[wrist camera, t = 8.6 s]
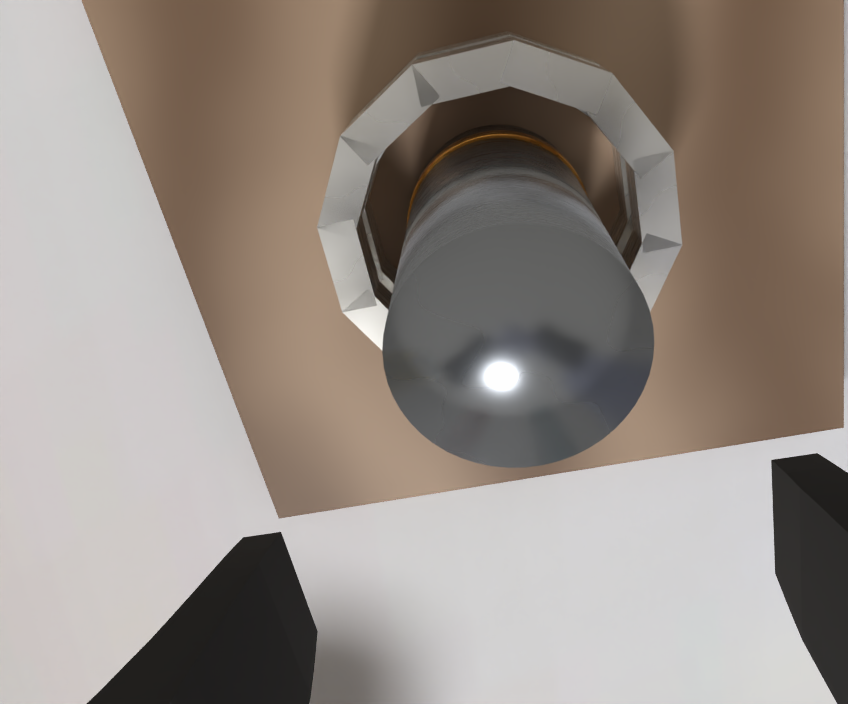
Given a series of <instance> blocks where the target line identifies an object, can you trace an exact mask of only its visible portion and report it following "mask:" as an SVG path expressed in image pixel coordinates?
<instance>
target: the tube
mask: <svg viewBox="0 0 848 704" xmlns="http://www.w3.org/2000/svg"><path fill="white" fill-rule="evenodd" d="M382 354H383V365H384V370H385V375H386V379H387V383H388V385H389V388H390V390H391V393H392V396H393V398H394V399H395V401H396V403H397V405H398V407H399V408H400V410H401V411H402V413H403V414H404V415H405V417H406V418H407V419H408V421H409V422H410V423H411V424H412V425H413V426H414V427H415V428H416V429H417V430H418V431H419V432H420V433H421V434H422V435H423V436H424V437H426V438H427V439H428V440H430V441H431V442H432V443H433V444H435V445H437V446H438V447H440V448H442V449H443V450H445V451H447V452H449V453H451V454H453V455H455V456H458V457H460V458H462V459H465V460H468V461H472V462H475V463H478V464H483V465H488V466H494V467H505V468H526V467H533V466H541V465H546V464H550V463H554V462H558V461H561V460H563V459H566V458H569V457H572V456H574V455H576V454H578V453H580V452H582V451H584V450H586V449H588V448H590V447H592V446H593V445H595V444H596V443H598V442H599V441H601V440H602V439H604V438H605V437H606V436H607V435H608V434H610V433H611V432H612V431H613V430H614V429H616V427H617V426H618V425H619V424H620V423H621V422H622V421H623V420H624V419H625V418H626V417H627V415H628V414H629V413H630V411H631V410H632V409H633V407H634V406H635V405H636V403H637V401H638V399H639V397H640V396H641V394H642V392H643V390H644V388H645V385H646V383H647V380H648V377H649V375H650V370H651V366H652V362H653V354H654V329H653V323H652V318H651V314H650V310H649V307H648V305H647V302H646V299H645V297H644V294H643V293H642V291H641V289H640V287H639V286H638V284H637V282H636V280H635V279H634V277H633V275H632V273H631V272H630V270H629V268H628V266H627V265H626V263H625V261H624V260H623V258H622V256H621V254H620V253H619V251H618V249H617V247H616V246H615V244H614V242H613V240H612V239H611V237H610V235H609V233H608V232H607V230H606V228H605V226H604V225H603V223H602V221H601V219H600V218H599V216H598V214H597V212H596V211H595V209H594V207H593V205H592V204H591V202H590V200H589V198H588V195H587V193H586V190H585V187H584V185H583V183H582V182H581V180H580V178H579V176H578V174H577V173H576V171H575V169H574V168H573V167H572V165H571V164H570V163H569V161H568V160H567V159H566V158H565V157H564V156H563V155H562V154H561V152H560V151H559V150H558V149H557V148H556V147H555V146H554V145H553V144H551V143H550V142H549V141H547V140H546V139H545V138H543V137H541V136H539V135H538V134H536V133H534V132H532V131H529V130H526V129H524V128H520V127H515V126H509V125H488V126H482V127H477V128H474V129H471V130H468V131H465V132H463V133H461V134H459V135H457V136H455V137H454V138H452V139H451V140H449V141H448V142H446V143H445V144H444V145H443V146H442V147H440V148H439V149H438V150H437V151H436V152H435V154H434V155H433V156H432V157H431V158H430V160H429V161H428V162H427V164H426V165H425V167H424V169H423V171H422V173H421V175H420V177H419V180H418V182H417V184H416V186H415V188H414V191H413V194H412V197H411V201H410V205H409V210H408V215H407V229H406V234H405V238H404V243H403V247H402V252H401V256H400V261H399V265H398V270H397V274H396V279H395V283H394V288H393V292H392V297H391V301H390V306H389V310H388V315H387V319H386V324H385V329H384V334H383V347H382Z"/></svg>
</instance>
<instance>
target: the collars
mask: <svg viewBox="0 0 848 704" xmlns="http://www.w3.org/2000/svg"><path fill="white" fill-rule="evenodd" d="M509 86H511V87H514V88H517V89H520V90H523V91H526V92H529V93H533V94H536V95H539V96H542V97H545V98H548V99H551V100H554V101H557V102H560V103H563V104H566V105H569V106H572V107H575V108H577V109H578V110H580V111H581V112H583V113H584V114H586V115H587V116H589V117H590V119H591V120H592V121H593V122H594V123H595V125H596V126H597V127H598V128H599V130H600V131H601V132H602V133H603V135H604V136H605V137H606V138H607V139H608V141H609V142H610V143H611V144H612V150H613V158H614V166H615V174H616V182H617V190H618V198H619V206H620V210H619V213H618V215H617V217H616V220H615V222H614V224H613V227H612V229H611V231H610V234H609V235H610V237H611V239H612V240H613V242H614V244H615V246H616V247H617V249H618V251H619V253H620V254H621V256H622V258H623V260H624V261H625V263H626V265H627V266H628V268H629V270H630V272H631V273H632V275H633V277H634V279H635V280H636V282H637V284H638V286H639V287H640V289H641V291H642V293H643V294H644V297H645V299H646V302H647V305H648V307H649V310H650V312H651V309H652V307H653V305H654V303H655V301H656V299H657V297H658V295H659V293H660V291H661V288H662V286H663V284H664V282H665V280H666V278H667V276H668V274H669V272H670V270H671V267H672V265H673V263H674V261H675V259H676V257H677V255H678V253H679V251H680V249H681V246H682V237H681V226H680V215H679V204H678V194H677V183H676V172H675V161H674V150H672V148H671V147H670V146H669V144H668V143H667V142H666V141H665V139H664V138H663V137H662V136H661V134H660V133H659V132H658V130H657V129H656V128H655V127H654V125H653V124H652V123H651V122H650V120H649V119H648V118H647V116H646V115H645V114H644V113H643V111H642V110H641V109H640V108H639V106H638V105H637V104H636V103H635V101H634V100H633V99H632V97H631V96H630V95H629V94H628V92H627V91H626V90H625V89H624V87H623V86H622V85H621V83H620V82H619V81H618V80H617V78H616V77H615V76H614V75H613V73H612V72H610V71H609V70H607V69H606V68H604V67H601V66H600V64H598V63H597V62H595V61H594V60H591V59H588V58H585V57H582V56H579V55H576V54H574V53H571V52H568V51H565V50H562V49H559V48H556V47H553V46H550V45H547V44H544V43H541V42H538V41H535V40H532V39H529V38H526V37H523V36H520V35H517V34H514V33H511V32H508V31H506V32H502V33H498V34H494V35H489V36H485V37H481V38H477V39H473V40H469V41H465V42H461V43H456V44H452V45H448V46H444V47H440V48H436V49H432V50H428V51H423V52H419V53H418V54H417V55H416V56H415V57H414V58H413V59H412V60H411V61H410V62H409V63H408V64H407V65H406V66H405V67H404V68H403V69H402V70H401V71H400V72H399V73H398V74H397V75H396V76H395V77H394V78H393V79H392V80H391V81H390V82H389V83H388V84H387V85H386V86H385V87H384V88H383V89H382V90H381V91H380V92H379V93H378V94H377V95H376V96H375V97H374V98H373V99H372V100H371V101H370V102H369V103H368V104H367V105H366V106H365V107H364V108H363V109H362V110H361V111H360V112H359V113H358V114H357V115H356V116H355V117H354V118H353V120H352V121H351V122H350V125H349V126H348V127H346V129H345V130H344V131H343V133H342V134H341V135H340V138H339V142H338V146H337V150H336V154H335V158H334V162H333V166H332V170H331V174H330V178H329V182H328V186H327V190H326V194H325V198H324V202H323V206H322V210H321V213H320V217H319V221H318V225H317V229H318V232H319V236H320V239H321V243H322V246H323V249H324V253H325V256H326V259H327V263H328V266H329V269H330V273H331V276H332V280H333V283H334V286H335V290H336V293H337V296H338V300H339V303H340V307H341V310H342V312H343V313H344V314H345V315H346V316H347V317H348V318H349V319H350V320H351V321H352V322H353V323H354V324H355V325H356V326H357V327H358V328H359V329H360V330H361V331H362V332H363V333H364V334H365V335H366V336H367V337H368V338H369V339H371V340H372V341H373V342H374V343H375V344H376V345H377V346H378V347H379V348H380V349H381V350H382V347H383V334H384V329H385V324H386V319H387V315H388V310H389V306H390V301H391V297H392V292H393V288H394V283H395V279H396V274H397V269H396V268H395V267H394V266H393V265H392V264H391V263H390V262H389V261H388V260H387V259H386V258H385V254H384V251H383V247H382V243H381V239H380V235H379V232H378V228H377V224H376V220H375V216H374V213H373V209H372V205H371V201H370V194H371V191H372V187H373V183H374V180H375V176H376V173H377V169H378V165H379V162H380V158H381V156H382V155H383V153H384V151H385V150H386V148H387V147H388V146H389V145H390V144H391V143H392V142H393V141H394V140H395V139H396V138H397V137H399V136H400V135H401V134H402V133H403V132H404V131H405V130H406V129H407V128H408V127H409V126H410V125H411V124H412V123H413V122H414V121H415V120H416V119H417V118H418V117H419V116H420V115H421V114H423V113H424V112H425V111H426V110H427V109H428V108H429V107H430V106H431V105H432V104H436V103H440V102H445V101H449V100H453V99H458V98H462V97H466V96H471V95H475V94H479V93H483V92H488V91H492V90H496V89H501V88H505V87H509Z"/></svg>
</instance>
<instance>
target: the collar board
mask: <svg viewBox="0 0 848 704" xmlns="http://www.w3.org/2000/svg"><path fill="white" fill-rule="evenodd" d="M82 3H83V5H84V8H85V11H86V13H87V16H88V18H89V21H90V24H91V26H92V29H93V32H94V34H95V37H96V39H97V42H98V45H99V47H100V50H101V53H102V55H103V58H104V60H105V63H106V66H107V68H108V71H109V74H110V76H111V79H112V81H113V84H114V87H115V89H116V92H117V95H118V97H119V100H120V102H121V105H122V108H123V110H124V113H125V116H126V118H127V121H128V123H129V126H130V129H131V131H132V134H133V137H134V139H135V142H136V144H137V147H138V150H139V152H140V155H141V158H142V160H143V163H144V165H145V168H146V171H147V173H148V176H149V179H150V181H151V184H152V186H153V189H154V192H155V194H156V197H157V200H158V202H159V205H160V207H161V210H162V213H163V215H164V218H165V221H166V223H167V226H168V228H169V231H170V234H171V236H172V239H173V242H174V244H175V247H176V249H177V252H178V255H179V257H180V260H181V263H182V265H183V268H184V270H185V273H186V276H187V278H188V281H189V284H190V286H191V289H192V291H193V294H194V297H195V299H196V302H197V305H198V307H199V310H200V312H201V315H202V318H203V320H204V323H205V326H206V328H207V331H208V333H209V336H210V339H211V341H212V344H213V347H214V349H215V352H216V354H217V357H218V360H219V362H220V365H221V368H222V370H223V373H224V375H225V378H226V381H227V383H228V386H229V389H230V391H231V394H232V396H233V399H234V402H235V404H236V407H237V410H238V412H239V415H240V417H241V420H242V423H243V425H244V428H245V431H246V433H247V436H248V438H249V441H250V444H251V446H252V449H253V452H254V454H255V457H256V459H257V462H258V465H259V467H260V470H261V473H262V475H263V478H264V480H265V483H266V486H267V488H268V491H269V494H270V496H271V499H272V501H273V504H274V507H275V509H276V512H277V515H278V517H279V518H285V517H291V516H297V515H303V514H309V513H316V512H322V511H328V510H334V509H340V508H347V507H353V506H359V505H365V504H371V503H378V502H384V501H390V500H396V499H402V498H409V497H415V496H421V495H427V494H434V493H440V492H446V491H452V490H458V489H465V488H471V487H477V486H483V485H489V484H496V483H502V482H508V481H514V480H520V479H527V478H533V477H539V476H545V475H552V474H558V473H564V472H570V471H576V470H583V469H589V468H595V467H601V466H607V465H614V464H620V463H626V462H632V461H638V460H645V459H651V458H657V457H663V456H670V455H676V454H682V453H688V452H694V451H701V450H707V449H713V448H719V447H725V446H732V445H738V444H744V443H750V442H756V441H763V440H769V439H775V438H781V437H788V436H794V435H800V434H806V433H812V432H819V431H825V430H831V429H837V428H843V427H844V0H82ZM506 31H508V32H511V33H514V34H517V35H520V36H523V37H526V38H529V39H532V40H535V41H538V42H541V43H544V44H547V45H550V46H553V47H556V48H559V49H562V50H565V51H568V52H571V53H574V54H576V55H579V56H582V57H585V58H588V59H591V60H594V61H595V62H597V63H598V64H600V66H601V67H604V68H606V69H607V70H609V71H610V72H612V73H613V75H614V76H615V77H616V78H617V80H618V81H619V82H620V83H621V85H622V86H623V87H624V89H625V90H626V91H627V92H628V94H629V95H630V96H631V97H632V99H633V100H634V101H635V103H636V104H637V105H638V106H639V108H640V109H641V110H642V111H643V113H644V114H645V115H646V116H647V118H648V119H649V120H650V122H651V123H652V124H653V125H654V127H655V128H656V129H657V130H658V132H659V133H660V134H661V136H662V137H663V138H664V139H665V141H666V142H667V143H668V144H669V146H670V147H671V148H672V150H674V161H675V172H676V183H677V194H678V204H679V215H680V226H681V237H682V246H681V249H680V251H679V253H678V255H677V257H676V259H675V261H674V263H673V265H672V267H671V270H670V272H669V274H668V276H667V278H666V280H665V282H664V284H663V286H662V288H661V291H660V293H659V295H658V297H657V299H656V301H655V303H654V305H653V307H652V309H651V312H650V314H651V318H652V323H653V329H654V354H653V362H652V366H651V370H650V375H649V377H648V380H647V383H646V385H645V388H644V390H643V392H642V394H641V396H640V397H639V399H638V401H637V403H636V405H635V406H634V407H633V409H632V410H631V411H630V413H629V414H628V415H627V417H626V418H625V419H624V420H623V421H622V422H621V423H620V424H619V425H618V426H617V427H616V429H614V430H613V431H612V432H611V433H610V434H608V435H607V436H606V437H605V438H604V439H602V440H601V441H599V442H598V443H596V444H595V445H593V446H592V447H590V448H588V449H586V450H584V451H582V452H580V453H578V454H576V455H574V456H572V457H569V458H566V459H563V460H561V461H558V462H554V463H550V464H546V465H541V466H533V467H526V468H505V467H494V466H488V465H483V464H478V463H475V462H472V461H468V460H465V459H462V458H460V457H458V456H455V455H453V454H451V453H449V452H447V451H445V450H443V449H442V448H440V447H438V446H437V445H435V444H433V443H432V442H431V441H430V440H428V439H427V438H426V437H424V436H423V435H422V434H421V433H420V432H419V431H418V430H417V429H416V428H415V427H414V426H413V425H412V424H411V423H410V422H409V421H408V419H407V418H406V417H405V415H404V414H403V413H402V411H401V410H400V408H399V407H398V405H397V403H396V401H395V399H394V398H393V396H392V393H391V390H390V388H389V385H388V383H387V379H386V375H385V370H384V365H383V354H382V350H381V349H380V348H379V347H378V346H377V345H376V344H375V343H374V342H373V341H372V340H371V339H369V338H368V337H367V336H366V335H365V334H364V333H363V332H362V331H361V330H360V329H359V328H358V327H357V326H356V325H355V324H354V323H353V322H352V321H351V320H350V319H349V318H348V317H347V316H346V315H345V314H344V313H343V312H342V310H341V307H340V303H339V300H338V296H337V293H336V290H335V286H334V283H333V280H332V276H331V273H330V269H329V266H328V263H327V259H326V256H325V253H324V249H323V246H322V243H321V239H320V236H319V232H318V229H317V225H318V221H319V217H320V213H321V210H322V206H323V202H324V198H325V194H326V190H327V186H328V182H329V178H330V174H331V170H332V166H333V162H334V158H335V154H336V150H337V146H338V142H339V138H340V135H341V134H342V133H343V131H344V130H345V129H346V127H348V126H349V125H350V122H351V121H352V120H353V118H354V117H355V116H356V115H357V114H358V113H359V112H360V111H361V110H362V109H363V108H364V107H365V106H366V105H367V104H368V103H369V102H370V101H371V100H372V99H373V98H374V97H375V96H376V95H377V94H378V93H379V92H380V91H381V90H382V89H383V88H384V87H385V86H386V85H387V84H388V83H389V82H390V81H391V80H392V79H393V78H394V77H395V76H396V75H397V74H398V73H399V72H400V71H401V70H402V69H403V68H404V67H405V66H406V65H407V64H408V63H409V62H410V61H411V60H412V59H413V58H414V57H415V56H416V55H417V54H418V53H419V52H423V51H428V50H432V49H436V48H440V47H444V46H448V45H452V44H456V43H461V42H465V41H469V40H473V39H477V38H481V37H485V36H489V35H494V34H498V33H502V32H506ZM488 125H509V126H515V127H520V128H524V129H526V130H529V131H532V132H534V133H536V134H538V135H539V136H541V137H543V138H545V139H546V140H547V141H549V142H550V143H551V144H553V145H554V146H555V147H556V148H557V149H558V150H559V151H560V152H561V154H562V155H563V156H564V157H565V158H566V159H567V160H568V161H569V163H570V164H571V165H572V167H573V168H574V169H575V171H576V173H577V174H578V176H579V178H580V180H581V182H582V183H583V185H584V187H585V190H586V193H587V195H588V198H589V200H590V202H591V204H592V205H593V207H594V209H595V211H596V212H597V214H598V216H599V218H600V219H601V221H602V223H603V225H604V226H605V228H606V230H607V232H608V233H609V234H610V231H611V229H612V227H613V224H614V222H615V220H616V217H617V215H618V213H619V210H620V206H619V198H618V190H617V182H616V174H615V166H614V158H613V150H612V144H611V143H610V142H609V141H608V139H607V138H606V137H605V136H604V135H603V133H602V132H601V131H600V130H599V128H598V127H597V126H596V125H595V123H594V122H593V121H592V120H591V119H590V117H589V116H587V115H586V114H584V113H583V112H581V111H580V110H578V109H577V108H575V107H572V106H569V105H566V104H563V103H560V102H557V101H554V100H551V99H548V98H545V97H542V96H539V95H536V94H533V93H529V92H526V91H523V90H520V89H517V88H514V87H511V86H509V87H505V88H501V89H496V90H492V91H488V92H483V93H479V94H475V95H471V96H466V97H462V98H458V99H453V100H449V101H445V102H440V103H436V104H432V105H431V106H430V107H429V108H428V109H427V110H426V111H425V112H424V113H423V114H421V115H420V116H419V117H418V118H417V119H416V120H415V121H414V122H413V123H412V124H411V125H410V126H409V127H408V128H407V129H406V130H405V131H404V132H403V133H402V134H401V135H400V136H399V137H397V138H396V139H395V140H394V141H393V142H392V143H391V144H390V145H389V146H388V147H387V148H386V150H385V151H384V153H383V155H382V156H381V158H380V162H379V165H378V169H377V173H376V176H375V180H374V183H373V187H372V191H371V194H370V201H371V205H372V209H373V213H374V216H375V220H376V224H377V228H378V232H379V235H380V239H381V243H382V247H383V251H384V254H385V258H386V259H387V260H388V261H389V262H390V263H391V264H392V265H393V266H394V267H395V268H396V269H397V270H398V265H399V261H400V256H401V252H402V247H403V243H404V238H405V234H406V229H407V215H408V210H409V205H410V201H411V197H412V194H413V191H414V188H415V186H416V184H417V182H418V180H419V177H420V175H421V173H422V171H423V169H424V167H425V165H426V164H427V162H428V161H429V160H430V158H431V157H432V156H433V155H434V154H435V152H436V151H437V150H438V149H439V148H440V147H442V146H443V145H444V144H445V143H446V142H448V141H449V140H451V139H452V138H454V137H455V136H457V135H459V134H461V133H463V132H465V131H468V130H471V129H474V128H477V127H482V126H488Z"/></svg>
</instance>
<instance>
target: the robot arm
mask: <svg viewBox="0 0 848 704" xmlns="http://www.w3.org/2000/svg"><path fill="white" fill-rule="evenodd" d="M771 462H772V491H773V520H774V549H775V574H776V576H777V579H778V581H779V584H780V586H781V589H782V591H783V594H784V597H785V599H786V602H787V604H788V607H789V609H790V612H791V614H792V616H793V619H794V621H795V624H796V626H797V628H798V631H799V633H800V636H801V638H802V640H803V642H804V644H805V646H806V647H807V649H808V651H809V653H810V655H811V657H812V659H813V660H814V662H815V664H816V666H817V668H818V669H819V671H820V673H821V675H822V677H823V679H824V680H825V682H826V684H827V686H828V688H829V689H830V691H831V693H832V695H833V697H834V698H835V700H836V702H837V704H848V473H847V472H845V471H844V470H842V469H841V468H839V467H838V466H836V465H835V464H833V463H832V462H830V461H829V460H827V459H825V458H824V457H822V456H821V455H819V454H817V453H816V454H809V455H803V456H796V457H789V458H782V459H775V460H771ZM316 641H317V629H316V626H315V624H314V621H313V618H312V615H311V613H310V610H309V607H308V605H307V602H306V599H305V596H304V594H303V591H302V588H301V585H300V583H299V580H298V577H297V575H296V572H295V569H294V566H293V564H292V561H291V558H290V555H289V553H288V550H287V547H286V545H285V542H284V539H283V536H282V534H281V532H277V533H271V534H264V535H257V536H250V537H243V538H242V539H241V540H240V541H239V542H238V543H237V544H236V545H235V546H234V547H233V549H232V550H231V551H230V552H229V553H228V554H227V555H226V556H225V557H224V558H223V559H222V561H221V562H220V563H219V564H218V565H217V566H216V567H215V568H214V570H213V571H212V572H211V573H210V574H209V575H208V576H207V577H206V579H205V580H204V581H203V582H202V583H201V584H200V585H199V586H198V588H197V589H196V590H195V591H194V592H193V593H192V594H191V596H190V597H189V598H188V599H187V600H186V601H185V602H184V603H183V604H182V605H181V607H180V608H179V609H178V610H177V611H176V612H175V613H174V614H173V615H172V617H171V618H170V619H169V620H168V621H167V622H166V623H165V624H164V625H163V626H162V628H161V629H160V630H159V631H158V632H157V633H156V634H155V635H154V636H153V637H152V639H151V640H150V641H149V642H148V643H147V644H146V645H145V646H144V647H143V648H142V649H141V650H140V651H139V652H138V653H137V654H136V655H135V656H134V657H133V658H132V659H131V660H130V661H129V662H128V663H127V664H126V665H125V666H124V667H123V668H122V669H121V670H120V671H119V672H118V673H117V674H116V675H115V676H114V677H113V678H112V679H111V680H110V681H109V682H108V683H107V684H106V685H105V687H104V688H103V689H102V690H101V691H100V692H99V693H97V694H96V695H95V696H94V697H93V698H92V699H91V700H90V701H89V702H88V703H87V704H309V701H310V696H311V689H312V680H313V672H314V663H315V652H316Z"/></svg>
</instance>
